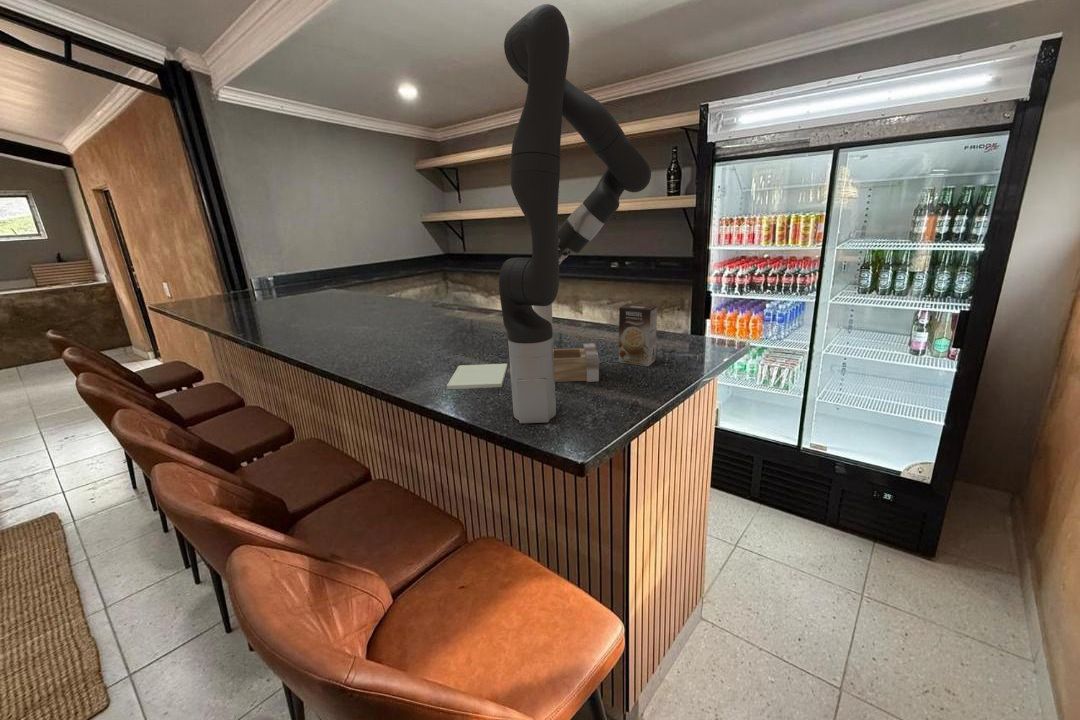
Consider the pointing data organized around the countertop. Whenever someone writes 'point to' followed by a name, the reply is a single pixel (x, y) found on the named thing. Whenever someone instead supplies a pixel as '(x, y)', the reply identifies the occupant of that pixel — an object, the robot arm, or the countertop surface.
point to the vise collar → (576, 364)
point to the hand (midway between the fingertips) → (534, 279)
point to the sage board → (478, 376)
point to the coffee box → (637, 334)
